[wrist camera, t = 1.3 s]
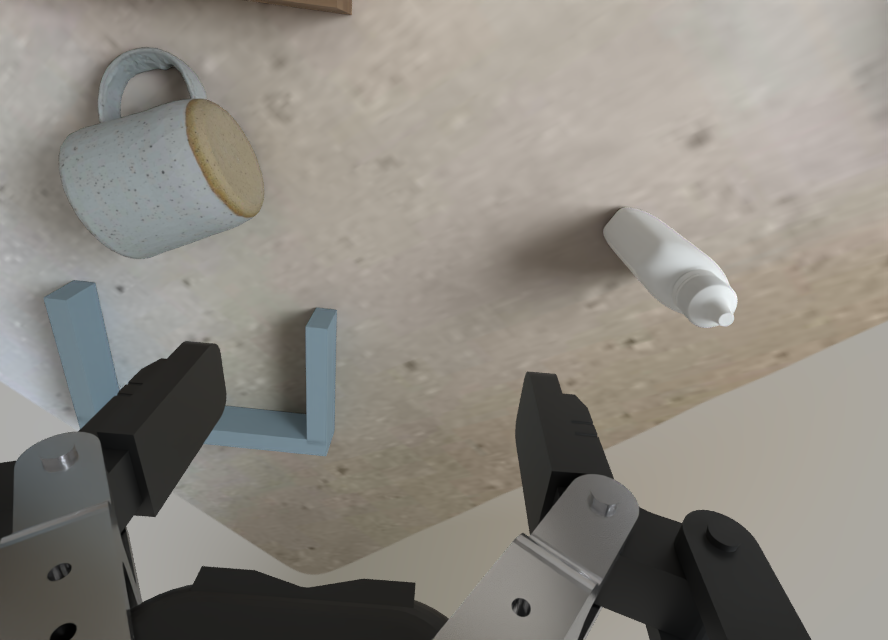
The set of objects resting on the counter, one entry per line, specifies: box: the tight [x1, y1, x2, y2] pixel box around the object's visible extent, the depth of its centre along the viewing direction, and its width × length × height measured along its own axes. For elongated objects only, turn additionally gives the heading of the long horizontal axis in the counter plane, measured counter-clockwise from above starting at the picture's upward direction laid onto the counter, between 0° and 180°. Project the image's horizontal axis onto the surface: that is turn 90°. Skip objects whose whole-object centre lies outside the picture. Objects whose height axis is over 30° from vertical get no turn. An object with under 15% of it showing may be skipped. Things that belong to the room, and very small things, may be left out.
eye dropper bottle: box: [603, 207, 737, 328], centre depth 28 cm, size 4×6×12 cm
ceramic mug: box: [59, 47, 264, 259], centre depth 28 cm, size 11×8×8 cm
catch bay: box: [44, 280, 337, 456], centre depth 38 cm, size 12×19×3 cm, turn 83°
